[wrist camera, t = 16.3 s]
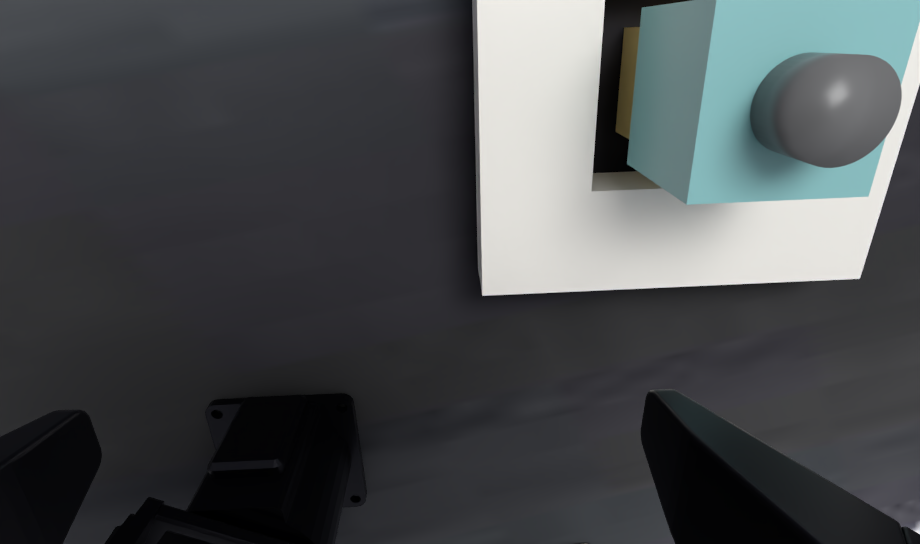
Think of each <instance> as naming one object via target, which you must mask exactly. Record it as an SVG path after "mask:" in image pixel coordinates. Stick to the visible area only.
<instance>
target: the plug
mask: <svg viewBox="0 0 920 544" xmlns="http://www.w3.org/2000/svg"><path fill="white" fill-rule="evenodd" d="M919 22H920V0H692V1H685V2H678V3H671V4H664V5H657V6H650V7H643V8H642V11H641V21H640V27H628V28H624V36H623V48H622V59H621V71H620V83H619V95H618V107H617V119H616V131H615V132H617V133H618V134H620V135H622V136H624V137H626V138H628V139H629V147H628V157H627V164H628V165H629V166H631V167H632V168H634V169H635V170H637V171H638V172H640V173H641V174H642V175H644V176H645V177H647V178H648V179H650V180H651V181H653V182H654V183H656V184H657V185H659V186H660V187H661V188H663V189H664V190H666V191H667V192H669V193H670V194H672V195H673V196H675V197H676V198H677V199H679V200H680V201H682V202H683V203H685V204H686V205H691V204H713V203H736V202H759V201H781V200H804V199H827V198H849V197H869V193H870V190H871V186H872V183H873V180H874V176H875V173H876V169H877V166H878V162H879V159H880V156H881V152H882V149H883V145H884V142H885V139H886V136H887V135H888V133H889V132H890V130H891V129H892V127H893V125H894V123H895V121H896V119H897V116H898V113H899V110H900V106H901V99H902V89H901V84H902V80H903V77H904V74H905V70H906V67H907V63H908V60H909V56H910V53H911V50H912V46H913V43H914V39H915V36H916V33H917V29H918V26H919Z"/></svg>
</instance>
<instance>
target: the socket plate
mask: <svg viewBox="0 0 920 544" xmlns="http://www.w3.org/2000/svg"><path fill="white" fill-rule="evenodd" d="M604 8H605V0H472V16H473V63H474V110H475V157H476V204H477V251H478V272H479V278H480V285H481V291H482V296H489V295H511V294H533V293H555V292H578V291H600V290H622V289H644V288H666V287H688V286H710V285H732V284H754V283H776V282H798V281H820V280H842V279H860V276H861V273H862V270H863V267H864V263H865V260H866V257H867V254H868V250H869V247H870V244H871V241H872V237H873V234H874V231H875V228H876V224H877V221H878V218H879V215H880V211H881V208H882V205H883V202H884V198H885V195H886V192H887V189H888V185H889V182H890V179H891V176H892V172H893V169H894V166H895V163H896V159H897V156H898V153H899V150H900V146H901V143H902V140H903V136H904V133H905V130H906V127H907V123H908V120H909V117H910V114H911V110H912V107H913V104H914V101H915V97H916V94H917V91H918V88H919V84H920V22H919V26H918V29H917V33H916V36H915V39H914V43H913V46H912V50H911V53H910V56H909V60H908V63H907V67H906V70H905V74H904V77H903V80H902V84H901V89H902V99H901V106H900V110H899V113H898V116H897V119H896V121H895V123H894V125H893V127H892V129H891V130H890V132H889V133H888V135H887V136H886V139H885V142H884V145H883V149H882V152H881V156H880V159H879V162H878V166H877V169H876V173H875V176H874V180H873V183H872V186H871V190H870V193H869V197H849V198H827V199H804V200H781V201H759V202H736V203H713V204H691V205H686V204H685V203H683V202H682V201H680V200H679V199H677V198H676V197H675V196H673V195H672V194H670V193H669V192H667V191H666V190H664V189H663V188H661V187H660V186H659V185H657V184H656V183H654V182H653V181H651V180H650V179H648V178H647V177H645V176H644V175H642V174H641V173H640V172H638V171H633V172H608V173H593V163H594V149H595V134H596V120H597V106H598V92H599V78H600V64H601V50H602V36H603V22H604Z"/></svg>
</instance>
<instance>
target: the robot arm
mask: <svg viewBox="0 0 920 544" xmlns="http://www.w3.org/2000/svg"><path fill="white" fill-rule="evenodd" d="M338 404H344V405H346V407H340V406H339V405H338ZM216 410H219V411H221V412H222V413H218V412H217V411H216ZM205 413H206V418H207V422H208V425H209V428H210V432H211V435H212V439H213V442H214V446H215V449H216V451H215V453H214V455H213V457H212V459H211V461H210V463H209V464H208V471H207V473H206V475H205V477H204V479H203V480H202V482H201V484H200V486H199V488H198V490H197V492H196V493H195V495H194V497H193V499H192V501H191V503H190V505H189V507H188V508H187V510H186V511H184V510H181V509H177V508H174V507H171V506H167V505H164V501H161V500H158V499H155V498H151V497H148V498H147V500H146V501H145V502H144V504H143V505H142V506H141V507H140V509H139V510H138V511H137V513H136V514H135V515H134V514H130V515H129V516H128V518H127V519H126V520H125V522H124V523H123V524H122V525H121V526H117V527H115V529H114V530H113V532H112V534H111V535H110V537H109V538H108V540H107V541H106V543H105V544H335V540H336V535H337V530H338V525H339V521H340V516H341V511H342V507H357V506H361V505H363V504H364V503H365V501H366V495H367V490H366V483H365V476H364V469H363V462H362V455H361V448H360V441H359V434H358V427H357V420H356V413H355V406H354V401H353V399H352V398H351V397H350V396H349V395H347V394H322V395H292V396H271V397H250V398H240V399H219V400H214V401H212V402H211V403H210V404H209V406H208V408H207V409H206V411H205ZM641 441H642V445H643V449H644V452H645V455H646V458H647V461H648V464H649V467H650V471H651V474H652V477H653V480H654V483H655V486H656V489H657V492H658V496H659V499H660V502H661V505H662V508H663V511H664V514H665V517H666V520H667V523H668V526H669V529H670V532H671V534H672V537H673V539H674V542H675V544H920V534H918V533H916V532H915V531H913V530H911V529H910V528H908V527H902V528H901V525H900V523H899V522H897V521H896V520H894V519H892V518H891V517H889V516H887V515H886V514H884V513H882V512H881V511H879V510H877V509H875V508H874V507H872V506H870V505H869V504H867V503H865V502H864V501H862V500H860V499H859V498H857V497H855V496H854V495H852V494H850V493H849V492H847V491H845V490H843V489H842V488H840V487H838V486H837V485H835V484H833V483H832V482H830V481H828V480H827V479H825V478H823V477H822V476H820V475H818V474H816V473H815V472H813V471H811V470H810V469H808V468H806V467H805V466H803V465H801V464H800V463H798V462H796V461H795V460H793V459H791V458H789V457H788V456H786V455H784V454H783V453H781V452H779V451H778V450H776V449H774V448H773V447H771V446H769V445H768V444H766V443H764V442H763V441H761V440H759V439H757V438H756V437H754V436H752V435H751V434H749V433H747V432H746V431H744V430H742V429H741V428H739V427H737V426H736V425H734V424H732V423H730V422H729V421H727V420H725V419H724V418H722V417H720V416H719V415H717V414H715V413H714V412H712V411H710V410H709V409H707V408H705V407H703V406H702V405H700V404H698V403H697V402H695V401H693V400H692V399H690V398H688V397H687V396H685V395H683V394H682V393H680V392H678V391H676V390H673V389H661V390H651V391H650V392H648V394H647V396H646V400H645V407H644V413H643V419H642V426H641ZM101 457H102V453H101V447H100V445H99V442H98V439H97V436H96V434H95V431H94V428H93V425H92V422H91V420H90V417H89V415H88V414H87V413H86V412H85V411H82V410H58V411H53V412H51V413H49V414H47V415H45V416H43V417H40V418H38V419H36V420H34V421H32V422H30V423H28V424H26V425H24V426H22V427H20V428H18V429H16V430H14V431H11V432H9V433H7V434H5V435H3V436H1V437H0V544H63V542H64V539H65V537H66V535H67V533H68V531H69V529H70V527H71V525H72V523H73V521H74V519H75V516H76V514H77V512H78V510H79V508H80V506H81V504H82V502H83V500H84V498H85V496H86V493H87V491H88V489H89V487H90V485H91V483H92V481H93V479H94V477H95V475H96V473H97V470H98V468H99V466H100V463H101ZM354 495H358V496H354Z"/></svg>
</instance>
